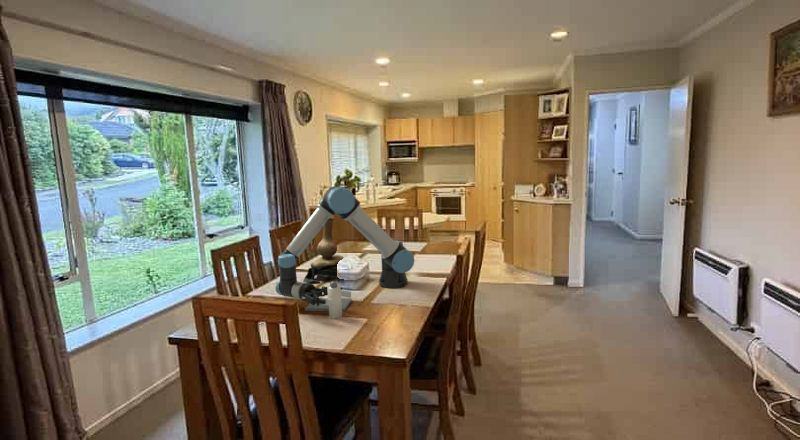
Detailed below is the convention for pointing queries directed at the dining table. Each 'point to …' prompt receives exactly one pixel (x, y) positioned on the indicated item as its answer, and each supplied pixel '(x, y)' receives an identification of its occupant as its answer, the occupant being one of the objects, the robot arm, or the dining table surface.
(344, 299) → the slate board
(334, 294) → the white bottle
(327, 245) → the vase
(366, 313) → the dining table surface
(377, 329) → the dining table surface
